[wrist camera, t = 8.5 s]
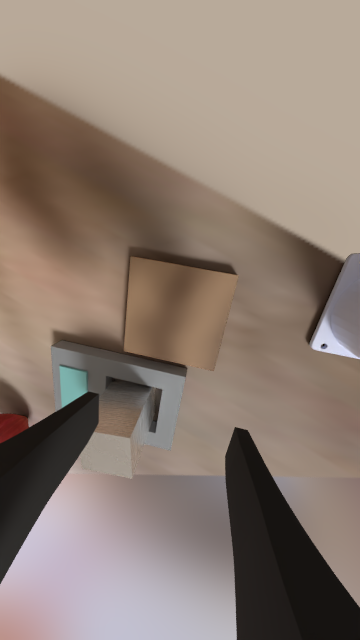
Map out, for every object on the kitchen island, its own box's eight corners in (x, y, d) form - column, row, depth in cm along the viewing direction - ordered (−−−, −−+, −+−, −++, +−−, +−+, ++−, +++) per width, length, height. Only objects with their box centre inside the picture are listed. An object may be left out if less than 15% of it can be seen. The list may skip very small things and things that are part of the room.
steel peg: (155, 380, 20) (129, 438, 14) (155, 412, 22) (132, 478, 15) (117, 375, 21) (74, 428, 14) (119, 406, 22) (82, 468, 16)
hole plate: (187, 368, 19) (185, 378, 18) (172, 438, 23) (170, 452, 21) (61, 340, 20) (49, 347, 19) (65, 410, 24) (55, 421, 22)
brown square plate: (237, 274, 16) (238, 275, 15) (213, 365, 19) (213, 371, 18) (134, 256, 17) (130, 256, 16) (127, 346, 20) (123, 350, 19)
